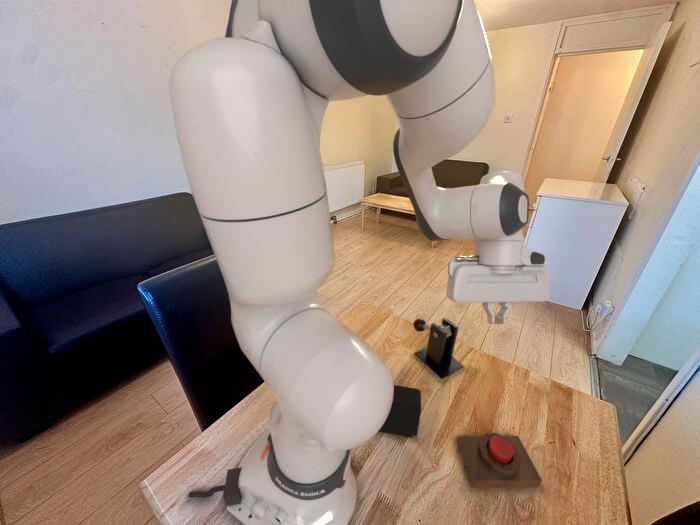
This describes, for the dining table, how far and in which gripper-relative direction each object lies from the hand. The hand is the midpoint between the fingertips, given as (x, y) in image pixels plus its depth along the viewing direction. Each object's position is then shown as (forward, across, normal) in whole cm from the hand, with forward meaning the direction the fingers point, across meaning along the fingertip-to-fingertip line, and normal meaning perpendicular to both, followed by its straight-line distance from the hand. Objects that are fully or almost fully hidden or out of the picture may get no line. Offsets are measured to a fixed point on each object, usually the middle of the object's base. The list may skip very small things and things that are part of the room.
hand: (496, 323), depth 58 cm
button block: (+26, -3, -5) cm, 26 cm away
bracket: (+16, -5, +18) cm, 25 cm away
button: (+22, -3, -6) cm, 24 cm away
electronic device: (+23, -20, +4) cm, 31 cm away
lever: (+8, -6, +18) cm, 21 cm away
